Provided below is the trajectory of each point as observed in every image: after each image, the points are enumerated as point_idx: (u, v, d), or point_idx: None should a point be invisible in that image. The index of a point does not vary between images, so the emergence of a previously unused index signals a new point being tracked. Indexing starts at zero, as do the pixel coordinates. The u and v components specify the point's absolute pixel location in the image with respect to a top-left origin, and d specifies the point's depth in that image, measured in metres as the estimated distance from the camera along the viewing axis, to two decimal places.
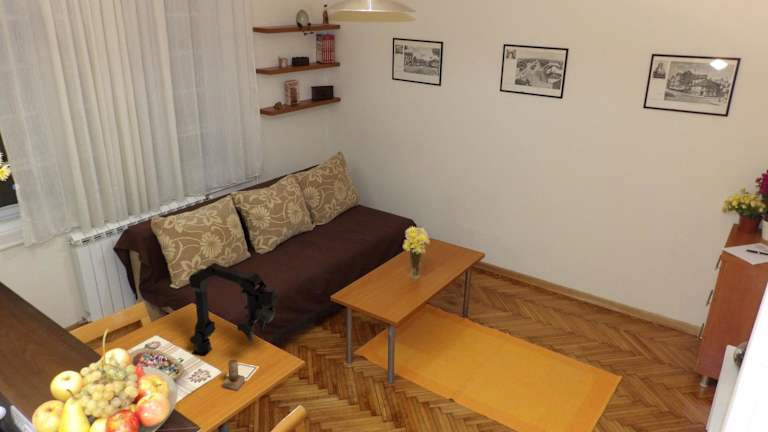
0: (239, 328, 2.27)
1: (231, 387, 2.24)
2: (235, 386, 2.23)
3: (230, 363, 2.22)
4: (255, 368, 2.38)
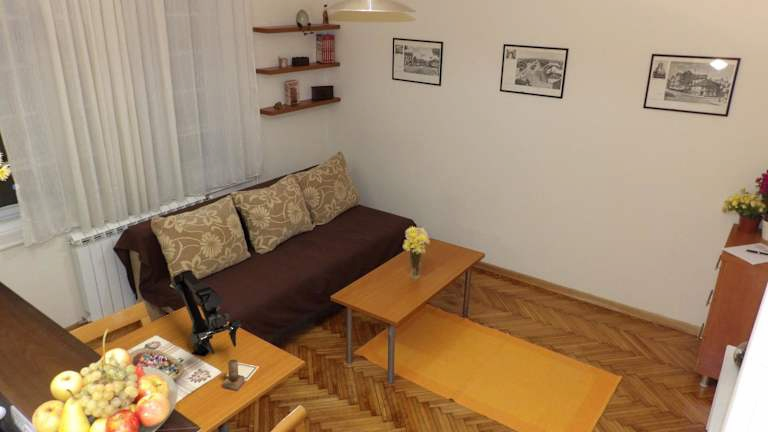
0: (194, 340, 2.26)
1: (231, 387, 2.24)
2: (235, 386, 2.23)
3: (230, 363, 2.22)
4: (255, 368, 2.38)
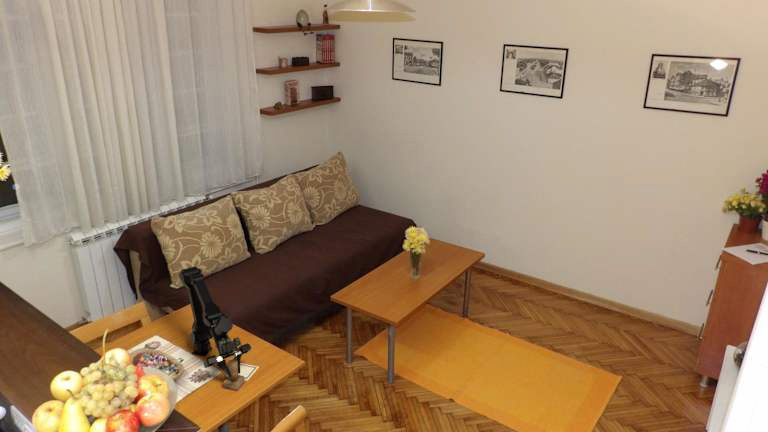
0: (204, 365, 2.22)
1: (231, 387, 2.24)
2: (235, 386, 2.23)
3: (230, 363, 2.22)
4: (255, 368, 2.38)
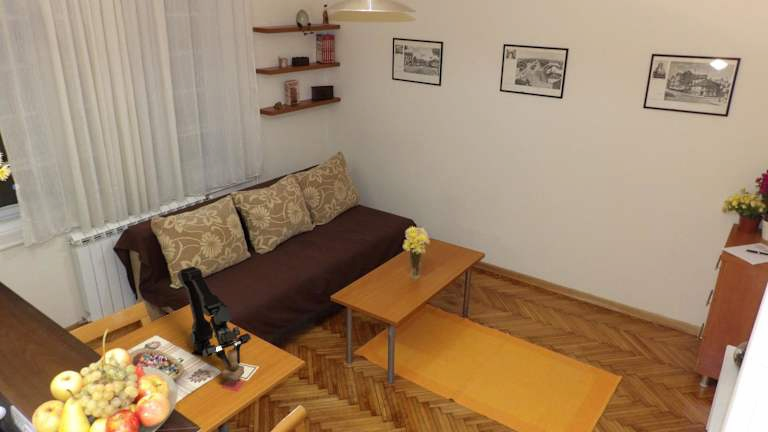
0: (203, 354, 2.20)
1: (230, 377, 2.22)
2: (234, 376, 2.21)
3: (229, 353, 2.21)
4: (255, 368, 2.38)
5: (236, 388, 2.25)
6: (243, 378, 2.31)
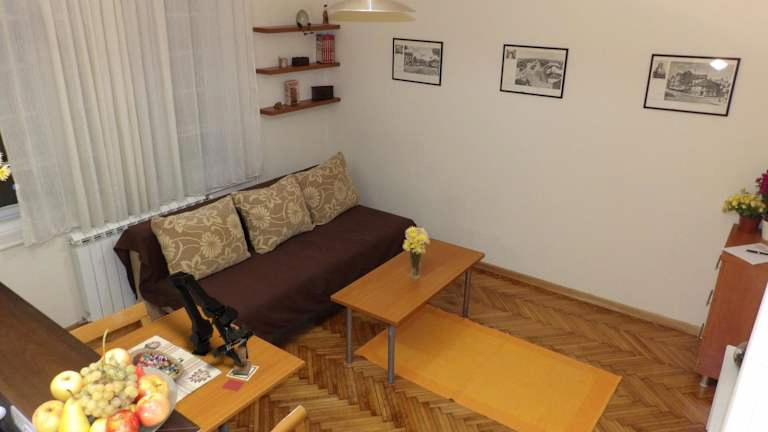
0: (214, 355, 2.28)
1: (241, 373, 2.33)
2: (246, 371, 2.33)
3: (239, 350, 2.31)
4: (255, 368, 2.38)
5: (236, 388, 2.25)
6: (243, 378, 2.31)
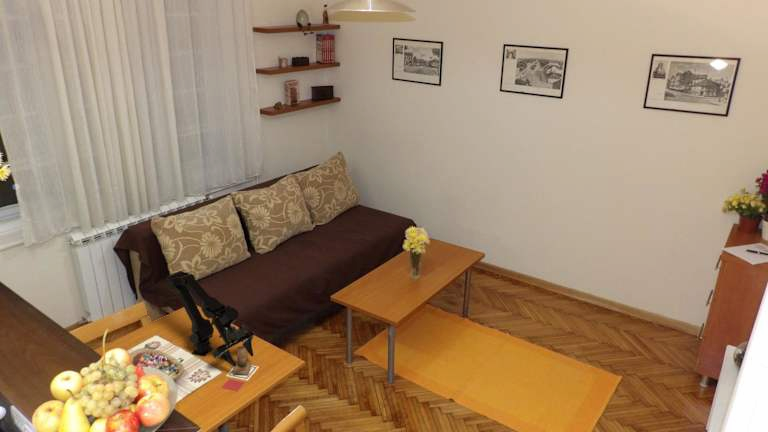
0: (214, 355, 2.28)
1: (241, 373, 2.33)
2: (246, 371, 2.33)
3: (239, 350, 2.31)
4: (255, 368, 2.38)
5: (236, 388, 2.25)
6: (243, 378, 2.31)
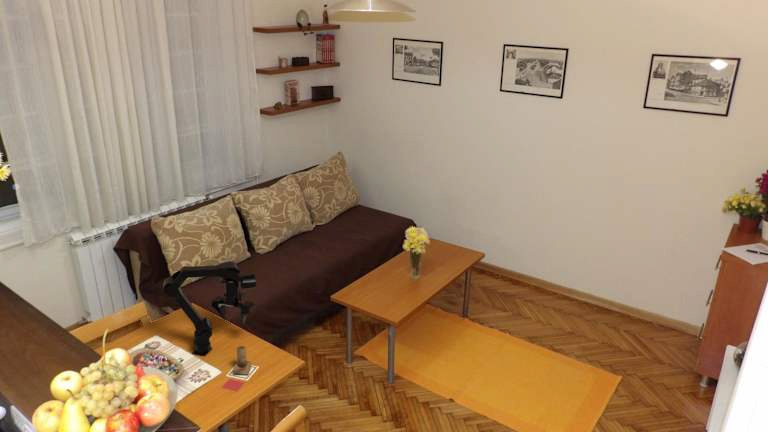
0: (250, 310, 2.44)
1: (241, 373, 2.33)
2: (246, 371, 2.33)
3: (239, 350, 2.31)
4: (255, 368, 2.38)
5: (236, 388, 2.25)
6: (243, 378, 2.31)
